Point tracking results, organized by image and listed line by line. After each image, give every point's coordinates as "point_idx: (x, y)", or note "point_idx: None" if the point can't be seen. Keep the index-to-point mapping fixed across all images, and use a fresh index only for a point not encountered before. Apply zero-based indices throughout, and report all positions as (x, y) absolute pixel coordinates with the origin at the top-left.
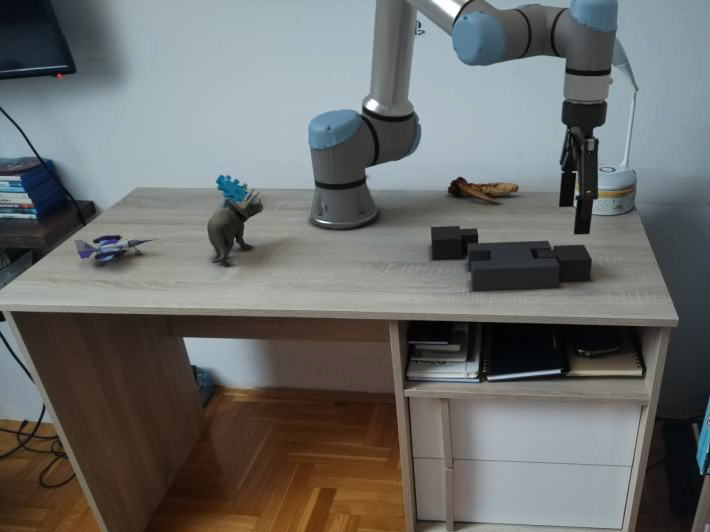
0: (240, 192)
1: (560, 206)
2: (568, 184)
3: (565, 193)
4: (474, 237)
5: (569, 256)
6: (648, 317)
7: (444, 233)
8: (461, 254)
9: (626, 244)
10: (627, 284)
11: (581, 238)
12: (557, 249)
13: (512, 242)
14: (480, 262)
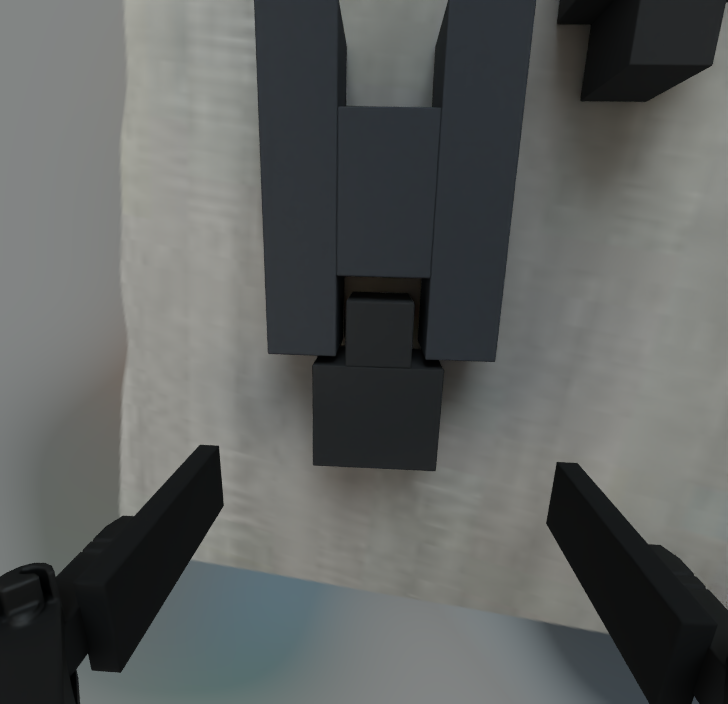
0: None
1: (556, 468)
2: (617, 592)
3: (588, 534)
4: (624, 49)
5: (342, 403)
6: (125, 505)
7: None
8: (564, 11)
9: (545, 585)
10: (295, 513)
11: (623, 483)
12: (406, 377)
13: (504, 217)
14: (320, 40)
